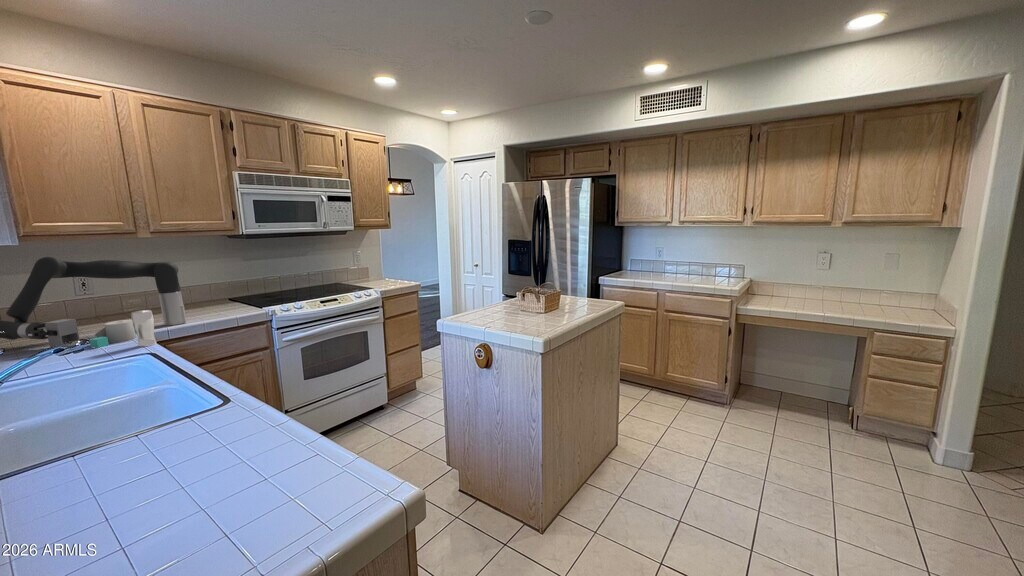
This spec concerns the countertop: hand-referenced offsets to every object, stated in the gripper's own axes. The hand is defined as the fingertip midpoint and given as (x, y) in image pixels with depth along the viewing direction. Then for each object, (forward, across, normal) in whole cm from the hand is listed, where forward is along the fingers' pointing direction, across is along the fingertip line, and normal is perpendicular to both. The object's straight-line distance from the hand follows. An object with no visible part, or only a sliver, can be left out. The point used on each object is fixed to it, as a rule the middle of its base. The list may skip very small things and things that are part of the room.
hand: (66, 330), depth 178 cm
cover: (-2, 0, +6) cm, 7 cm away
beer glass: (+32, +6, +8) cm, 34 cm away
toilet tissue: (+9, +12, +8) cm, 17 cm away
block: (+12, +3, +8) cm, 15 cm away
